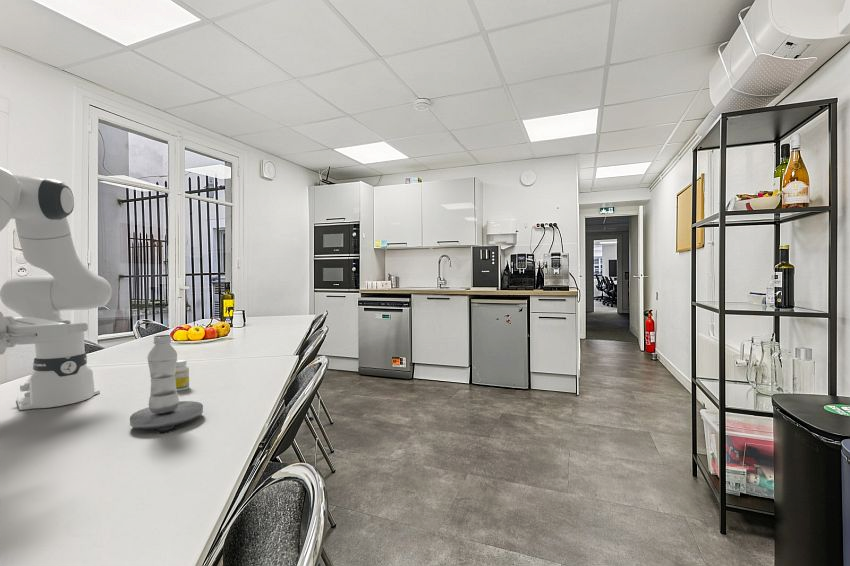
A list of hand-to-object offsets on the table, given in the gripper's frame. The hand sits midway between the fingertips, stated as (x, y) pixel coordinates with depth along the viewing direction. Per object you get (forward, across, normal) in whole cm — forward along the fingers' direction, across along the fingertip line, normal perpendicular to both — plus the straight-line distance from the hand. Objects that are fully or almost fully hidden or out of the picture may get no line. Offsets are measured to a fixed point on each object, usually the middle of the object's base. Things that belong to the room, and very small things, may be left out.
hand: (77, 325), depth 89 cm
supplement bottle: (+35, +25, +28) cm, 51 cm away
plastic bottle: (+16, -4, +25) cm, 30 cm away
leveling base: (+17, -4, +28) cm, 32 cm away
